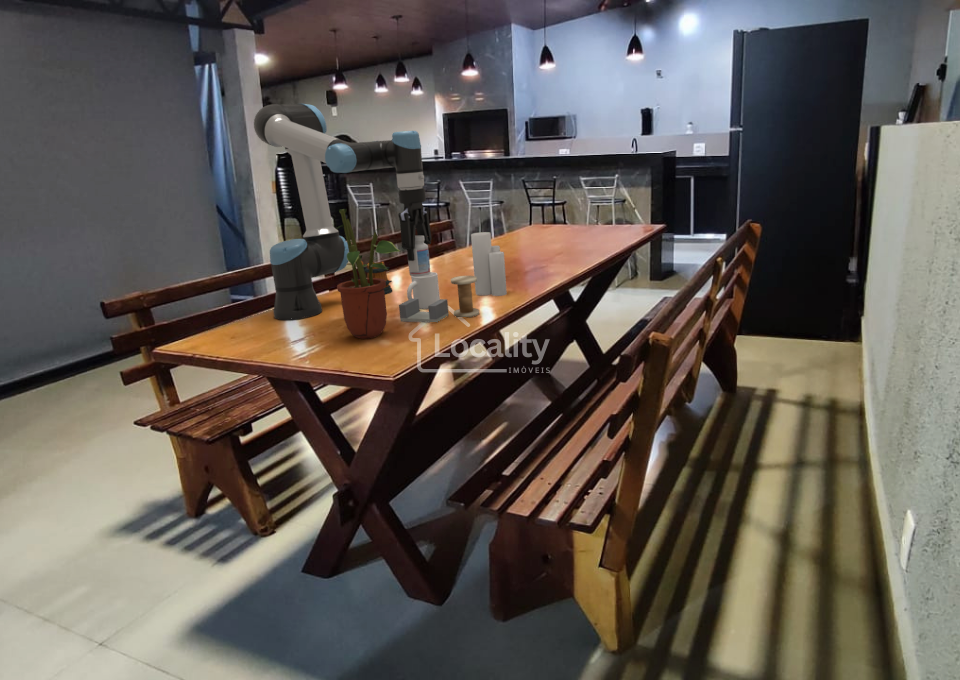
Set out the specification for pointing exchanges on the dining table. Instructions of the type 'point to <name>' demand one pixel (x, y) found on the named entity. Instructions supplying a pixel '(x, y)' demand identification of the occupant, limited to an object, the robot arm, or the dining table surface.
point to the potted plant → (364, 289)
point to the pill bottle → (421, 257)
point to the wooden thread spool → (465, 296)
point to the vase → (488, 266)
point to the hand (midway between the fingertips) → (419, 269)
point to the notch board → (413, 313)
